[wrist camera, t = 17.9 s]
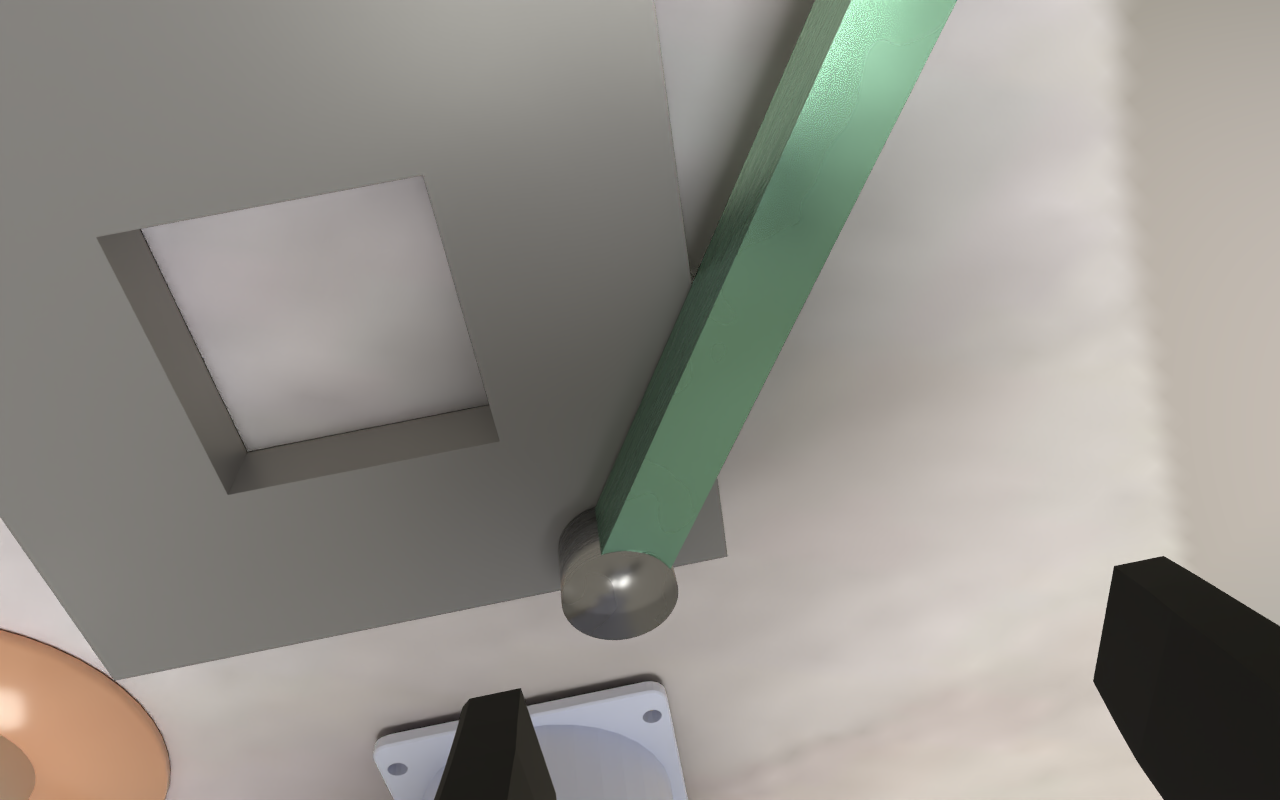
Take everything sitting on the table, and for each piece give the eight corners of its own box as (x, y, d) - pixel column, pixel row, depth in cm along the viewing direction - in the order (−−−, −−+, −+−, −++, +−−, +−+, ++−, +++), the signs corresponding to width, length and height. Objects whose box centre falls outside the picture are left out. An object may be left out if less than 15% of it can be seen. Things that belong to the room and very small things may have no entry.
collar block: (714, 515, 21) (727, 556, 20) (139, 631, 21) (114, 680, 20) (621, -165, 14) (631, -168, 13) (-273, -4, 14) (-354, 10, 12)
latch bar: (643, 595, 20) (653, 647, 19) (543, 576, 20) (546, 628, 18) (1092, -314, 12) (1164, -336, 11) (952, -400, 12) (1010, -434, 10)
